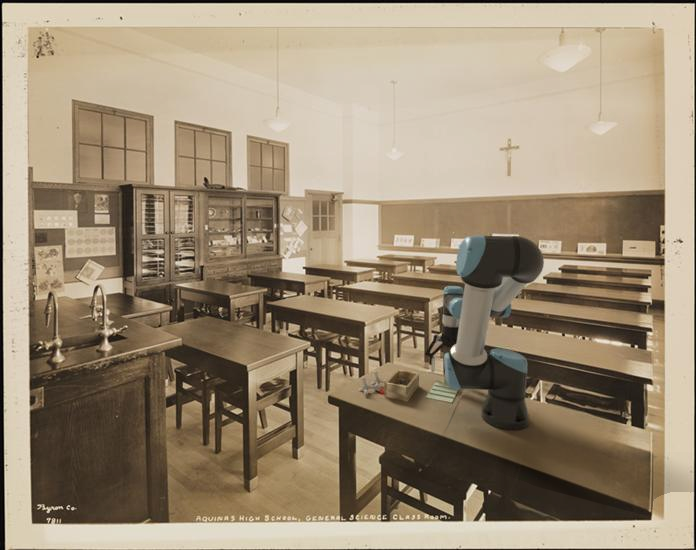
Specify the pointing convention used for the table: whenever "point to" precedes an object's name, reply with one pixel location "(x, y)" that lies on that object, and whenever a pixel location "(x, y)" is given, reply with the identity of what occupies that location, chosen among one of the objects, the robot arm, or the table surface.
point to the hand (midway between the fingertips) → (449, 375)
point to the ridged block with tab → (442, 392)
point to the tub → (400, 391)
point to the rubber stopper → (403, 381)
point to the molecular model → (375, 387)
